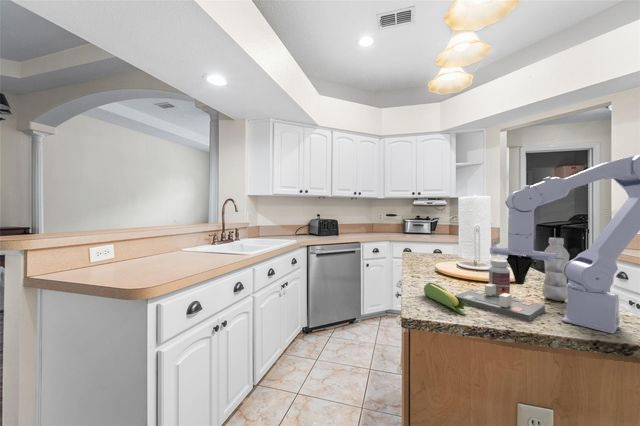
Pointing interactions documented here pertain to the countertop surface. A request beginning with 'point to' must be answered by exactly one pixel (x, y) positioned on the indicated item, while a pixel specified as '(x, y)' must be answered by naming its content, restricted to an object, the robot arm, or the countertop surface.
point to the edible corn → (444, 297)
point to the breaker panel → (491, 303)
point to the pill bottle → (500, 276)
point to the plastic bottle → (555, 271)
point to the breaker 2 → (505, 300)
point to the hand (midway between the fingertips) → (519, 283)
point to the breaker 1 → (490, 289)
